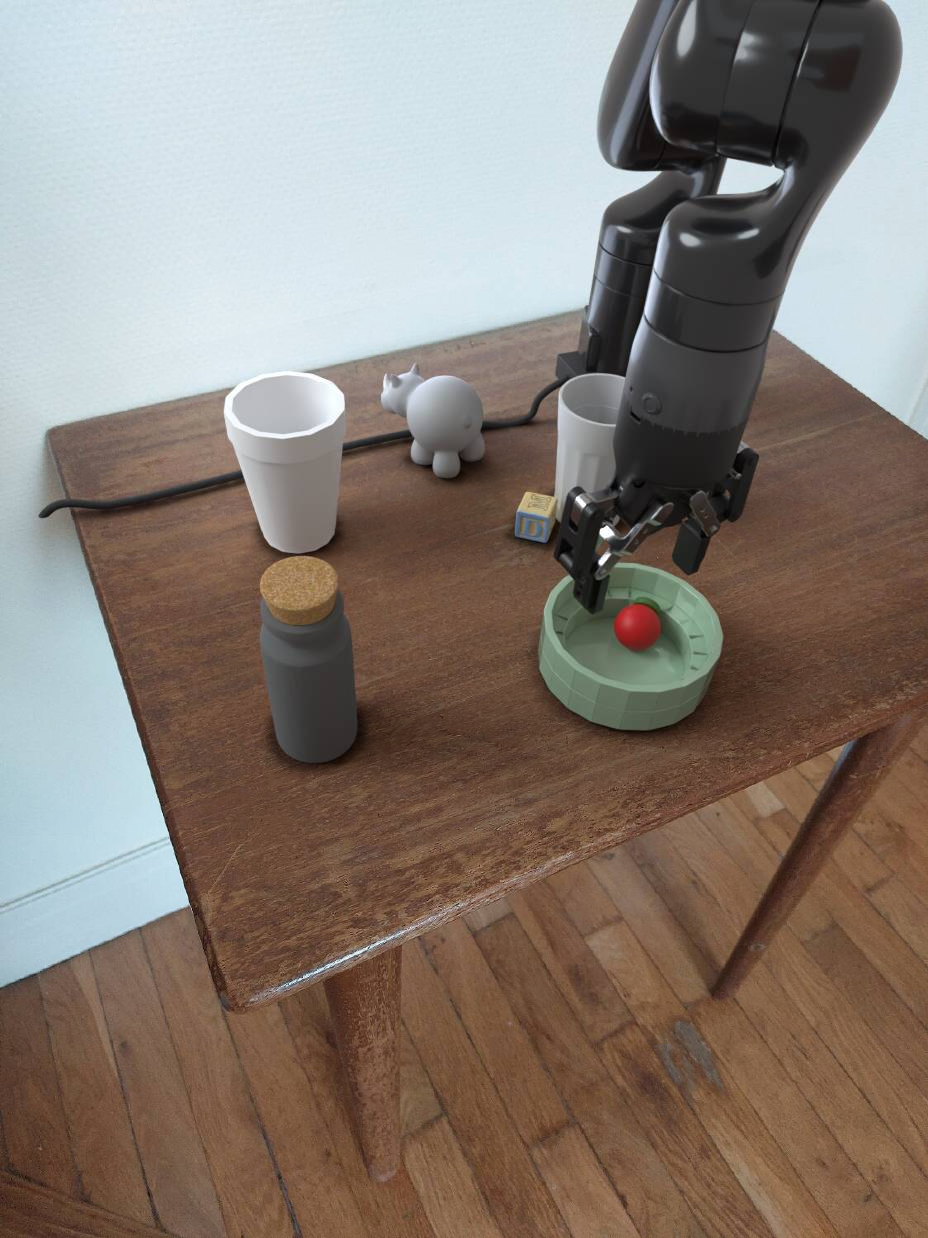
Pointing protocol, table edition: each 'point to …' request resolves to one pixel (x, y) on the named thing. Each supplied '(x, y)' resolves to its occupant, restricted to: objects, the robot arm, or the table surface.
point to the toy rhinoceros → (437, 418)
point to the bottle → (308, 659)
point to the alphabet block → (536, 517)
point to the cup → (586, 434)
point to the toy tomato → (638, 624)
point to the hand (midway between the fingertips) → (636, 586)
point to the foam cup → (290, 454)
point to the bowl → (630, 651)
